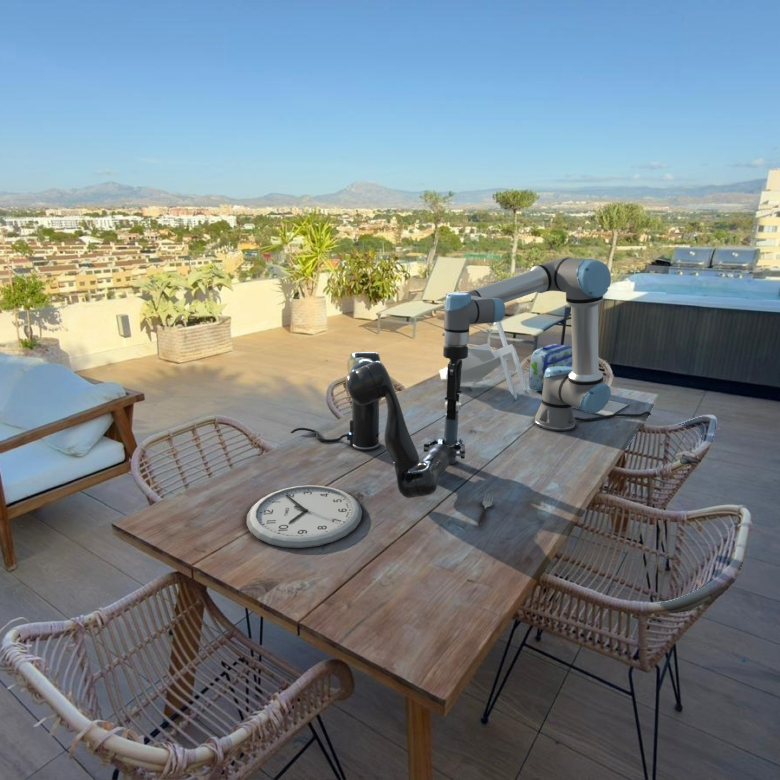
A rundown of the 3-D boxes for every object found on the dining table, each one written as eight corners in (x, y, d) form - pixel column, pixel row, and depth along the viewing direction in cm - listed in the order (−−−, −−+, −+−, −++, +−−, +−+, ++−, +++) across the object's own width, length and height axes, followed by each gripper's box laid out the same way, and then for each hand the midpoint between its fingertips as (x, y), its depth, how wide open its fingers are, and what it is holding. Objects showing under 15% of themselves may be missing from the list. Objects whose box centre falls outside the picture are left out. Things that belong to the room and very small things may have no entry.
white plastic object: (461, 429, 252) (437, 405, 227) (444, 352, 274) (420, 323, 250) (535, 404, 240) (518, 377, 215) (510, 326, 262) (492, 293, 237)
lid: (450, 404, 169) (450, 399, 168) (464, 408, 166) (464, 402, 165) (441, 408, 165) (441, 403, 164) (455, 412, 162) (456, 406, 161)
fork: (473, 526, 133) (473, 519, 133) (484, 497, 148) (485, 491, 147) (483, 528, 133) (484, 521, 132) (493, 499, 147) (494, 493, 146)
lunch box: (545, 396, 239) (550, 351, 232) (524, 391, 246) (528, 347, 240) (572, 385, 256) (577, 343, 250) (552, 380, 263) (557, 339, 257)
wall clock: (364, 539, 124) (235, 543, 122) (364, 545, 125) (236, 550, 122) (360, 481, 153) (256, 483, 150) (360, 486, 153) (256, 488, 151)
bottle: (449, 465, 168) (452, 413, 163) (440, 461, 171) (442, 409, 166) (458, 461, 171) (461, 410, 165) (449, 457, 174) (451, 407, 168)
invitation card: (608, 416, 214) (573, 407, 224) (608, 416, 214) (573, 408, 224) (628, 404, 229) (594, 396, 238) (628, 405, 229) (594, 397, 238)
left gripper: (460, 452, 153) (474, 432, 168) (414, 444, 158) (432, 425, 173) (458, 476, 155) (473, 454, 170) (413, 467, 160) (431, 446, 175)
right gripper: (448, 337, 169) (445, 405, 176) (438, 350, 152) (435, 424, 159) (472, 339, 167) (468, 408, 174) (464, 351, 150) (460, 427, 157)
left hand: (452, 440), depth 171 cm, fingers closed on bottle, 4 cm apart
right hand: (452, 415), depth 166 cm, fingers closed on lid, 5 cm apart
